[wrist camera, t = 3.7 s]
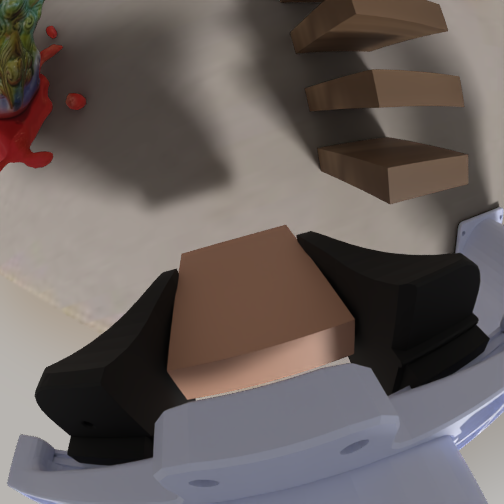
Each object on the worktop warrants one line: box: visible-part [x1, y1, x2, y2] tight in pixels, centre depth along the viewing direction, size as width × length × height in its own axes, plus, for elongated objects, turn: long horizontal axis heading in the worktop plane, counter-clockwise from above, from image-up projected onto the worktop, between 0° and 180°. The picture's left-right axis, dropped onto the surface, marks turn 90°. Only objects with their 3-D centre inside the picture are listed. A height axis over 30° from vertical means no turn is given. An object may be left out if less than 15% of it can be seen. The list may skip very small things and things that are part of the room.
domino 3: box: [305, 69, 464, 111], centre depth 11 cm, size 1×5×7 cm, turn 103°
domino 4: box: [317, 137, 468, 204], centre depth 12 cm, size 1×5×7 cm, turn 103°
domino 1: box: [167, 225, 355, 400], centre depth 10 cm, size 1×5×7 cm, turn 103°
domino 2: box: [290, 0, 448, 54], centre depth 9 cm, size 1×5×7 cm, turn 103°
